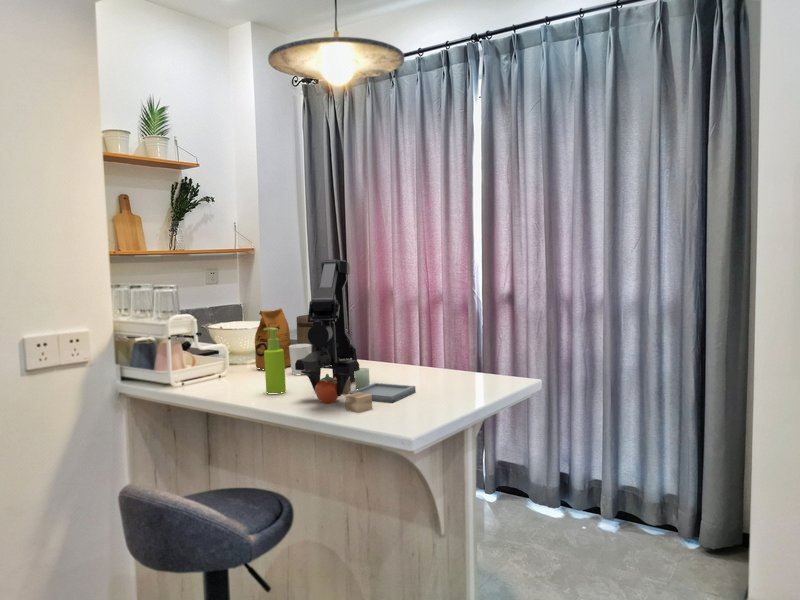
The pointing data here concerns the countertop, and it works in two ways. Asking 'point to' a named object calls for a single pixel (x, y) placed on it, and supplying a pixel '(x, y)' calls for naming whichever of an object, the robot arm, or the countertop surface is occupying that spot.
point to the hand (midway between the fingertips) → (328, 395)
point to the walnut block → (346, 386)
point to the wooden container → (303, 330)
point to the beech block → (358, 402)
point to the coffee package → (262, 336)
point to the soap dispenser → (274, 364)
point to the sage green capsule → (362, 378)
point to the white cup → (298, 355)
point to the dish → (386, 391)
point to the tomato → (326, 389)
